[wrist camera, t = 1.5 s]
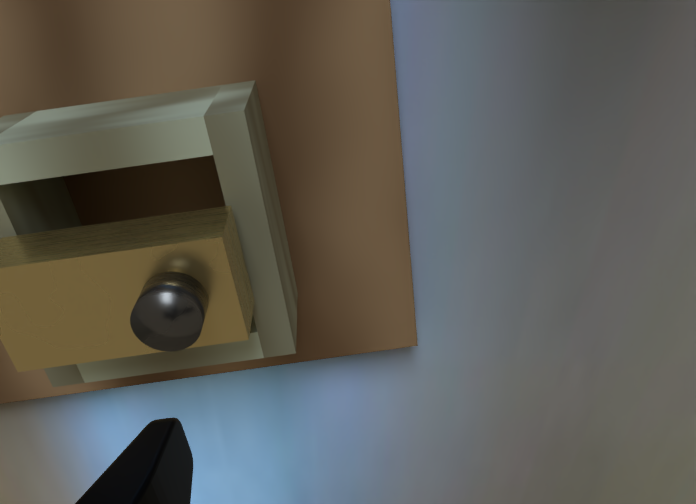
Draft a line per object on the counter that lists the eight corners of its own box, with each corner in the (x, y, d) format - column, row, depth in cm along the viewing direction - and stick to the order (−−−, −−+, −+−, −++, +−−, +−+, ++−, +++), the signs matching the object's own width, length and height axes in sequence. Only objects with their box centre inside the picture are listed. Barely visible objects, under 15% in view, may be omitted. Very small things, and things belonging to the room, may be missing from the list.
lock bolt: (231, 205, 15) (216, 258, 12) (254, 301, 16) (244, 365, 14) (2, 237, 15) (-60, 296, 12) (46, 329, 16) (-2, 399, 14)
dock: (378, -61, 17) (404, -63, 12) (411, 322, 23) (435, 410, 19) (-292, 34, 17) (-507, 66, 12) (-66, 389, 23) (-152, 492, 19)
